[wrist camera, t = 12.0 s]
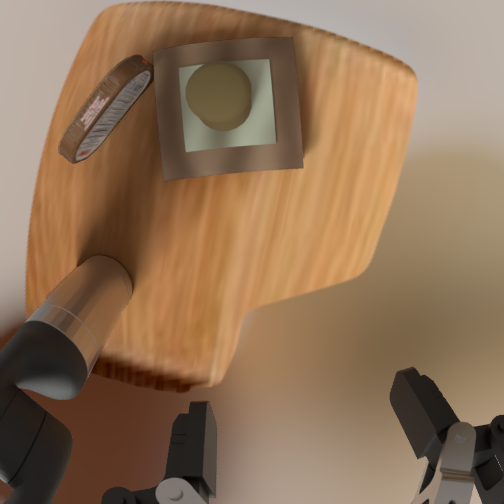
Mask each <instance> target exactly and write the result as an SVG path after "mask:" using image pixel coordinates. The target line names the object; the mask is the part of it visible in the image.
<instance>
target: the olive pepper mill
mask: <svg viewBox="0 0 504 504" xmlns="http://www.w3.org/2000/svg"><path fill="white" fill-rule="evenodd" d="M185 95H186V101H187V103H188V106H189V108H190V109H191V110H192V112H193V113H194V114H195V115H196V116H198V117H199V118H200V119H201V121H202V122H203V123H204V124H205V125H206V126H208V127H209V128H211V129H214V130H218V131H230V130H232V129H235V128H238V127H239V126H240V125H242V124H243V123H244V122H245V121H246V119H247V118H248V117H249V114H250V111H251V95H252V89H251V83H250V80H249V78H248V76H247V74H246V73H245V72H244V71H243V70H242V69H241V68H240V67H238V66H236V65H235V64H233V63H229V62H225V61H212V62H209V63H207V64H204V65H202V66H201V67H199V68H198V69H196V70H195V71H194V72H193V74H192V75H191V76H190V78H189V79H188V82H187V85H186V88H185Z"/></svg>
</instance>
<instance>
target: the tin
mask: <svg viewBox="0 0 504 504" xmlns="http://www.w3.org/2000/svg"><path fill="white" fill-rule="evenodd" d="M153 75H154V69H153V66H152V65H151V64H150V63H148V62H147V61H146V60H144V59H143V57H142V56H141V55H133V56H130V57H128V58H126V59H124V60H123V61H121V62H120V63H119V64H117V65H116V66H115V67H114V68H113V69H112V70H111V71H110V72H109V73H108V74H107V75H106V76H105V77H104V78H103V80H102V81H101V82H100V83H99V85H98V86H97V87H96V88H95V90H94V91H93V92H92V94H91V95H90V96H89V97H88V99H87V100H86V101H85V103H84V104H83V106H82V107H81V108H80V110H79V111H78V112H77V114H76V115H75V117H74V118H73V120H72V121H71V123H70V124H69V125H68V127H67V128H66V130H65V132H64V133H63V135H62V137H61V140H60V142H59V146H58V151H59V154H61V155H63V156H64V157H65V158H66V159H67V160H68V161H70V162H71V163H72V164H75V163H78V162H80V161H83V160H85V159H87V158H88V157H89V156H90V155H91V154H92V153H93V152H94V151H96V149H97V148H98V147H99V146H100V145H101V144H102V143H103V142H104V140H105V139H106V138H107V136H108V135H109V134H110V132H111V131H112V130H113V129H114V127H115V126H116V125H117V124H118V122H119V121H120V120H121V119H122V117H123V116H124V115H125V114H126V112H127V111H128V110H129V109H130V108H131V106H132V105H133V104H134V103H135V102H136V101H137V99H138V98H139V97H140V96H141V95H142V93H143V92H144V91H145V89H146V88H147V87H148V85H149V84H150V82H151V80H152V78H153Z"/></svg>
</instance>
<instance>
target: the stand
mask: <svg viewBox="0 0 504 504" xmlns="http://www.w3.org/2000/svg"><path fill="white" fill-rule="evenodd" d="M212 61H225V62H229V63H233V64H235V65H236V66H238V67H240V68H241V69H242V70H243V71H244V72H245V73H246V74H247V76H248V78H249V80H250V83H251V89H252V95H251V111H250V114H249V117H248V118H247V119H246V121H245V122H244V123H243V124H242V125H240V126H239V127H238V128H235V129H232V130H230V131H218V130H214V129H211V128H209V127H208V126H206V125H205V124H204V123H203V122H202V121H201V119H200V118H199V117H198V116H196V115H195V114H194V113H193V112H192V110H191V109H190V108H189V106H188V103H187V101H186V95H185V88H186V85H187V82H188V79H189V78H190V76H191V75H192V74H193V72H194V71H195V70H196V69H198V68H199V67H201V66H202V65H204V64H207V63H209V62H212ZM153 66H154V84H155V99H156V112H157V123H158V134H159V144H160V153H161V161H162V170H163V177H164V181H169V180H177V179H184V178H193V177H201V176H210V175H220V174H230V173H241V172H252V171H266V170H281V169H299V168H303V149H302V133H301V118H300V105H299V93H298V82H297V71H296V61H295V52H294V43H293V37H267V38H244V39H230V40H220V41H211V42H202V43H195V44H189V45H182V46H176V47H171V48H166V49H161V50H156V51H153Z"/></svg>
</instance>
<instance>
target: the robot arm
mask: <svg viewBox="0 0 504 504" xmlns="http://www.w3.org/2000/svg"><path fill="white" fill-rule="evenodd" d="M131 295H132V282H131V279H130V277H129V275H128V273H127V271H126V270H125V269H124V268H123V266H122V265H121V264H119V263H118V262H117V261H115V260H114V259H112V258H110V257H107V256H101V255H98V256H93V257H90V258H88V259H87V260H86V261H85V262H84V263H83V264H81V265H80V266H79V267H76V268H75V269H74V270H73V271H72V272H71V273H70V274H69V275H68V276H66V277H65V278H64V279H63V280H62V281H61V282H60V283H59V284H58V285H57V286H56V287H55V288H54V289H53V290H52V291H51V292H50V293H49V294H48V295H47V297H46V300H45V301H44V302H43V303H42V305H41V306H40V307H39V308H38V309H37V310H36V311H35V312H34V313H33V314H32V315H31V317H30V318H29V319H28V320H27V321H26V322H25V323H24V324H23V325H22V326H21V328H20V329H19V330H18V331H17V332H16V334H15V335H14V336H13V337H12V338H11V339H10V341H9V342H8V343H7V344H6V345H5V346H4V348H3V349H2V350H1V351H0V479H1V480H2V481H4V482H5V483H7V484H8V485H9V486H11V487H12V488H13V491H12V493H11V494H10V496H9V498H8V499H7V500H6V502H5V503H4V504H51V502H52V499H53V497H54V495H55V493H56V491H57V489H58V486H59V484H60V482H61V480H62V478H63V475H64V473H65V471H66V468H67V465H68V462H69V459H70V455H71V451H72V444H73V439H72V435H71V432H70V431H69V429H68V428H67V427H66V426H65V425H64V424H63V423H61V422H60V421H59V420H57V419H56V418H55V417H53V416H52V415H51V414H50V413H48V412H47V411H46V410H44V409H43V408H42V407H41V406H40V405H38V404H37V403H36V402H35V401H34V400H32V399H31V398H30V397H29V396H28V395H27V394H25V393H24V392H23V391H22V390H21V389H19V388H24V389H29V390H32V391H35V392H37V393H40V394H42V395H45V396H47V397H50V398H54V399H59V400H68V399H72V398H74V397H75V396H77V395H78V394H79V393H80V391H81V389H82V388H83V386H84V383H85V382H86V379H87V378H88V376H89V374H90V372H91V370H92V368H93V366H94V364H95V362H96V360H97V358H98V356H99V354H100V352H101V350H102V349H103V347H104V345H105V343H106V341H107V339H108V337H109V336H110V334H111V332H112V330H113V328H114V327H115V325H116V323H117V321H118V319H119V318H120V316H121V314H122V312H123V311H124V309H125V307H126V305H127V304H128V302H129V300H130V299H131ZM390 402H391V405H392V407H393V409H394V411H395V413H396V415H397V417H398V419H399V421H400V423H401V426H402V427H403V429H404V431H405V434H406V436H407V438H408V440H409V442H410V444H411V446H412V448H413V450H414V453H415V455H416V457H417V459H419V458H422V457H424V456H426V457H427V459H428V460H427V462H426V465H425V468H424V471H423V475H422V478H421V481H420V484H419V487H418V490H417V493H416V495H415V498H414V499H413V501H412V502H411V504H469V503H470V498H471V495H472V490H473V485H474V484H475V486H476V489H477V491H478V494H479V496H480V498H481V501H482V504H504V415H499V416H496V417H495V418H494V419H493V420H492V422H491V423H490V424H487V425H482V426H476V427H473V426H472V425H471V424H469V423H467V422H461V421H460V420H459V419H458V418H457V416H456V415H455V413H454V411H453V410H452V408H451V407H450V405H449V404H448V402H447V401H446V399H445V398H444V397H443V395H442V393H441V392H440V391H439V389H438V387H437V386H436V384H435V383H434V381H433V380H431V379H430V378H429V377H427V376H426V375H422V376H420V374H419V373H418V371H417V370H416V369H415V368H414V367H410V368H407V369H404V370H400V371H398V372H397V373H396V375H395V379H394V382H393V385H392V388H391V392H390ZM171 434H172V436H171V439H170V446H169V453H168V459H167V466H166V473H165V477H164V479H163V480H162V481H161V483H160V484H158V485H157V486H155V487H153V488H150V489H145V490H139V491H133V492H131V491H129V490H128V489H126V488H123V487H113V488H111V489H109V490H107V491H106V492H105V493H104V495H103V497H102V502H101V504H209V498H216V459H217V458H216V457H217V425H216V421H215V418H214V415H213V411H212V408H211V405H210V402H209V401H191V402H190V406H189V414H179V415H178V417H177V418H176V420H175V421H174V423H173V426H172V433H171ZM495 456H496V457H495ZM496 458H497V459H496ZM497 460H498V461H497ZM498 462H499V463H498ZM499 464H500V465H499ZM500 466H501V467H500ZM501 468H502V469H501ZM502 470H503V471H502Z"/></svg>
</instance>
